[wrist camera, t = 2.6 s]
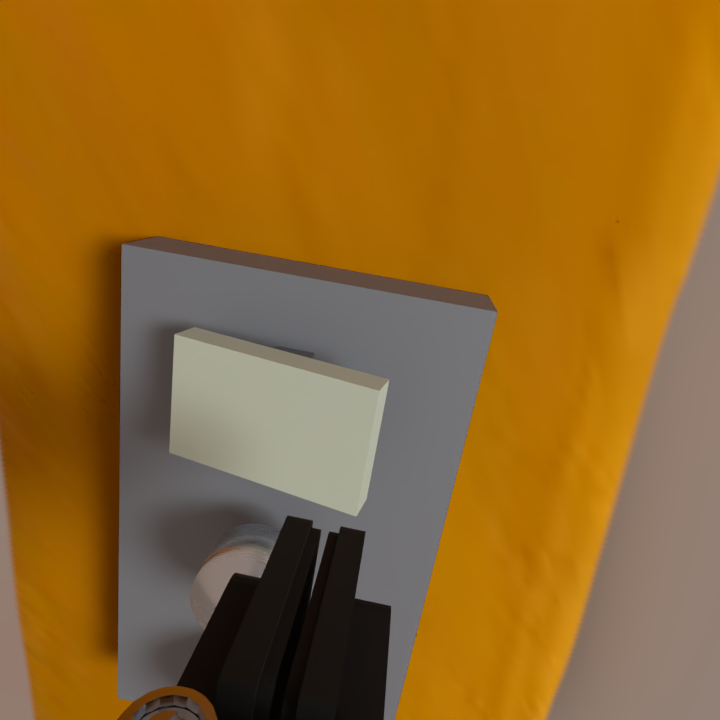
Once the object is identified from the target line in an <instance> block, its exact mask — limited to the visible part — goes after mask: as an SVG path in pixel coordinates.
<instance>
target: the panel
mask: <svg viewBox="0 0 720 720" xmlns="http://www.w3.org/2000/svg"><path fill="white" fill-rule="evenodd" d="M497 313H498V312H497V310H496V308H495V306H494V305H493V303H492V301H491V300H490V298H489V296H488V295H482V294H476V293H471V292H465V291H460V290H454V289H449V288H443V287H437V286H432V285H426V284H421V283H415V282H410V281H404V280H398V279H393V278H387V277H382V276H376V275H371V274H365V273H360V272H354V271H348V270H343V269H337V268H332V267H326V266H321V265H315V264H309V263H304V262H298V261H293V260H287V259H282V258H276V257H270V256H265V255H259V254H254V253H248V252H243V251H237V250H231V249H226V248H220V247H215V246H209V245H204V244H198V243H192V242H187V241H181V240H176V239H170V238H165V237H159V236H158V237H153V238H148V239H143V240H138V241H134V242H129V243H124V244H122V255H121V367H120V479H119V590H118V698H121V699H125V700H129V701H135V700H137V699H138V698H140V697H141V696H143V695H145V694H146V693H148V692H150V691H153V690H156V689H159V688H162V687H171V686H177V684H178V682H179V680H180V678H181V676H182V674H183V672H184V670H185V668H186V666H187V664H188V662H189V660H190V658H191V656H192V654H193V652H194V650H195V648H196V646H197V644H198V642H199V640H200V638H201V636H202V634H203V632H204V629H203V628H202V627H201V625H200V624H199V623H198V621H197V620H196V618H195V616H194V614H193V612H192V609H191V604H190V590H191V587H192V584H193V582H194V580H195V578H196V576H197V574H198V573H199V571H200V569H201V567H202V566H203V564H204V562H205V560H206V559H207V557H208V555H209V554H210V552H211V550H212V548H213V547H214V545H215V543H216V541H217V540H218V539H219V538H220V536H222V535H223V534H224V533H225V532H226V531H228V530H230V529H232V528H234V527H236V526H239V525H244V524H252V523H255V524H265V525H269V526H273V527H276V528H278V529H282V526H283V524H284V522H285V519H286V517H287V516H288V515H289V516H294V517H299V518H303V519H308V520H313V527H312V528H316V529H321V537H320V543H319V549H318V555H317V561H316V567H315V573H314V579H313V585H312V591H311V595H312V592H313V588H314V584H315V581H316V577H317V573H318V570H319V566H320V563H321V559H322V555H323V552H324V548H325V544H326V541H327V537H328V533H329V531H331V532H336V533H339V530H340V527H341V526H342V527H347V528H352V529H357V530H361V531H366V533H365V539H364V546H363V552H362V558H361V564H360V570H359V576H358V582H357V588H356V595H355V598H357V599H361V600H366V601H371V602H375V603H380V604H385V605H389V606H391V622H390V637H389V651H388V666H387V680H386V694H385V709H384V720H395V716H396V712H397V708H398V704H399V700H400V696H401V692H402V688H403V684H404V680H405V677H406V673H407V669H408V665H409V661H410V657H411V653H412V649H413V645H414V641H415V637H416V633H417V629H418V625H419V621H420V617H421V613H422V609H423V605H424V601H425V597H426V594H427V590H428V586H429V582H430V578H431V574H432V570H433V566H434V562H435V558H436V554H437V550H438V546H439V542H440V538H441V534H442V530H443V526H444V522H445V518H446V515H447V511H448V507H449V503H450V499H451V495H452V491H453V487H454V483H455V479H456V475H457V471H458V467H459V463H460V459H461V455H462V451H463V447H464V443H465V439H466V435H467V432H468V428H469V424H470V420H471V416H472V412H473V408H474V404H475V400H476V396H477V392H478V388H479V384H480V380H481V376H482V372H483V368H484V364H485V360H486V356H487V352H488V349H489V345H490V341H491V337H492V333H493V329H494V325H495V321H496V317H497ZM193 327H196V328H200V329H204V330H208V331H211V332H215V333H219V334H222V335H226V336H230V337H234V338H237V339H241V340H245V341H248V342H252V343H256V344H260V345H263V346H267V347H271V348H274V349H278V350H282V351H286V352H289V353H293V354H297V355H300V356H304V357H308V358H312V359H315V360H319V361H323V362H326V363H330V364H334V365H338V366H341V367H345V368H349V369H352V370H356V371H360V372H364V373H367V374H371V375H375V376H378V377H382V378H386V379H389V384H388V390H387V395H386V400H385V405H384V411H383V416H382V421H381V426H380V432H379V437H378V442H377V447H376V452H375V458H374V463H373V468H372V473H371V479H370V484H369V489H368V494H367V499H366V501H365V503H364V504H363V506H362V508H361V509H360V511H359V513H358V514H357V516H353V515H350V514H347V513H344V512H341V511H338V510H335V509H332V508H329V507H326V506H323V505H321V504H318V503H315V502H312V501H309V500H306V499H303V498H300V497H297V496H294V495H291V494H288V493H286V492H283V491H280V490H277V489H274V488H271V487H268V486H265V485H262V484H259V483H256V482H253V481H251V480H248V479H245V478H242V477H239V476H236V475H233V474H230V473H227V472H224V471H221V470H218V469H215V468H213V467H210V466H207V465H204V464H201V463H198V462H195V461H192V460H189V459H186V458H183V457H180V456H178V455H175V454H172V453H169V445H170V423H171V400H172V377H173V355H174V334H176V333H179V332H182V331H185V330H188V329H191V328H193ZM310 599H311V597H310Z"/></svg>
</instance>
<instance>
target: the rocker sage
mask: <svg viewBox="0 0 720 720" xmlns="http://www.w3.org/2000/svg"><path fill="white" fill-rule="evenodd" d="M388 384H389V379H386V378H382V377H378V376H375V375H371V374H367V373H364V372H360V371H356V370H352V369H349V368H345V367H341V366H338V365H334V364H330V363H326V362H323V361H319V360H315V359H312V358H308V357H304V356H300V355H297V354H293V353H289V352H286V351H282V350H278V349H274V348H271V347H267V346H263V345H260V344H256V343H252V342H248V341H245V340H241V339H237V338H234V337H230V336H226V335H222V334H219V333H215V332H211V331H208V330H204V329H200V328H196V327H193V328H191V329H188V330H185V331H182V332H179V333H176V334H174V355H173V377H172V400H171V423H170V445H169V453H172V454H175V455H178V456H180V457H183V458H186V459H189V460H192V461H195V462H198V463H201V464H204V465H207V466H210V467H213V468H215V469H218V470H221V471H224V472H227V473H230V474H233V475H236V476H239V477H242V478H245V479H248V480H251V481H253V482H256V483H259V484H262V485H265V486H268V487H271V488H274V489H277V490H280V491H283V492H286V493H288V494H291V495H294V496H297V497H300V498H303V499H306V500H309V501H312V502H315V503H318V504H321V505H323V506H326V507H329V508H332V509H335V510H338V511H341V512H344V513H347V514H350V515H353V516H357V514H358V513H359V511H360V509H361V508H362V506H363V504H364V503H365V501H366V499H367V494H368V489H369V484H370V479H371V473H372V468H373V463H374V458H375V452H376V447H377V442H378V437H379V432H380V426H381V421H382V416H383V411H384V405H385V400H386V395H387V390H388Z"/></svg>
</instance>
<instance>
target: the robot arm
mask: <svg viewBox="0 0 720 720" xmlns="http://www.w3.org/2000/svg"><path fill="white" fill-rule="evenodd" d="M312 527H313V520H308V519H303V518H299V517H294V516H289V515H288V516H287V517H286V519H285V522H284V524H283V526H282V529H281V531H280V533H279V536H278V538H277V541H276V543H275V545H274V548H273V550H272V552H271V555H270V557H269V560H268V562H267V564H266V567H265V569H264V571H263V574H262V576H261V578H258V577H254V576H249V575H244V574H240V573H234V574H233V575H232V577H231V578H230V580H229V582H228V584H227V586H226V588H225V590H224V592H223V594H222V596H221V598H220V600H219V602H218V604H217V606H216V608H215V610H214V612H213V614H212V616H211V618H210V620H209V622H208V624H207V626H206V628H205V630H204V632H203V634H202V636H201V638H200V640H199V642H198V644H197V646H196V648H195V650H194V652H193V654H192V656H191V658H190V660H189V662H188V664H187V666H186V668H185V670H184V672H183V674H182V676H181V678H180V680H179V682H178V684H177V686H171V687H162V688H159V689H156V690H153V691H150V692H148V693H146V694H145V695H143V696H141V697H140V698H138V699H137V700H135V701H134V702H133V703H132V704H131V705H130V706H129V707H128V708H127V709H126V710H125V711H124V712H123V713H122V714H121V716H120V717H119V718H118V719H117V720H384V709H385V694H386V680H387V666H388V651H389V637H390V622H391V606H389V605H385V604H380V603H375V602H371V601H366V600H361V599H357V598H355V595H356V588H357V582H358V576H359V570H360V564H361V558H362V552H363V546H364V539H365V533H366V531H361V530H357V529H352V528H347V527H342V526H341V527H340V530H339V533H336V532H331V531H329V533H328V537H327V541H326V544H325V548H324V552H323V555H322V559H321V563H320V566H319V570H318V573H317V577H316V581H315V584H314V588H313V592H312V595H311V591H312V585H313V579H314V573H315V567H316V561H317V555H318V549H319V543H320V537H321V529H316V528H312ZM310 597H311V599H310Z"/></svg>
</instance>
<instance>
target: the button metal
mask: <svg viewBox="0 0 720 720" xmlns="http://www.w3.org/2000/svg"><path fill="white" fill-rule="evenodd" d="M280 531H281V529H278V528H276V527H273V526H269V525H265V524H255V523H252V524H244V525H239V526H236V527H234V528H232V529H230V530H228V531H226V532H225V533H224V534H223V535H222V536H220V538H219V539H218V540H217V541H216V543H215V545H214V547H213V548H212V550H211V552H210V554H209V555H208V557H207V559H206V560H205V562H204V564H203V566H202V567H201V569H200V571H199V573H198V574H197V576H196V578H195V580H194V582H193V584H192V587H191V590H190V604H191V609H192V612H193V614H194V616H195V618H196V620H197V621H198V623H199V624H200V625H201V627H202V628H203V629H204V630H205V628H206V626H207V624H208V622H209V620H210V618H211V616H212V614H213V612H214V610H215V608H216V606H217V604H218V602H219V600H220V598H221V596H222V594H223V592H224V590H225V588H226V586H227V584H228V582H229V580H230V578H231V577H232V575H233V574H234V573H240V574H244V575H249V576H254V577H258V578H261V576H262V574H263V571H264V569H265V567H266V564H267V562H268V560H269V557H270V555H271V552H272V550H273V548H274V545H275V543H276V541H277V538H278V536H279V533H280Z"/></svg>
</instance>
